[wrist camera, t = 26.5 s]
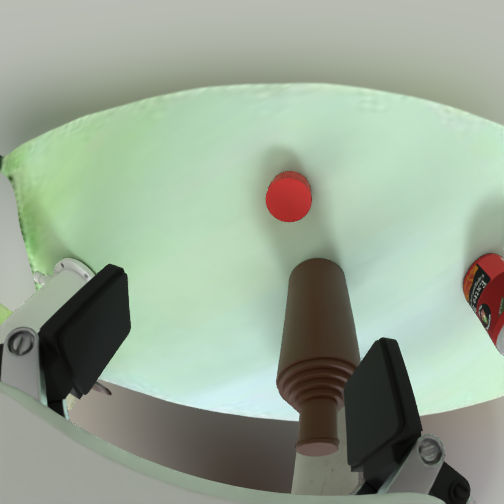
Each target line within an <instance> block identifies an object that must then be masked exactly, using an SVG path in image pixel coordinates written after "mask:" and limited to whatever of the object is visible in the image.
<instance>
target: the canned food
mask: <svg viewBox="0 0 504 504" xmlns="http://www.w3.org/2000/svg"><path fill="white" fill-rule="evenodd" d="M463 291H464V295H465V298H466V300H467V302H468V303H469V305H470V306H471V308H472V309H473V311H474V312H475V314H476V315H477V317H478V318H479V320H480V321H481V323H482V325H483V326H484V328H485V330H486V331H487V333H488V335H489V336H490V338H491V340H492V342H493V343H494V345H495V346H496V348H497V350H498V351H499V352H500V354H501V355H503V356H504V259H503V258H502V257H501V256H499V255H497V254H492V253H490V254H485V255H483V256H481V257H480V258H478V259H477V260H476V261H475V262H474V263H473V264H472V265H471V267H470V268H469V270H468V272H467V273H466V276H465V279H464V283H463Z"/></svg>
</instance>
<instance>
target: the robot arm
mask: <svg viewBox="0 0 504 504" xmlns="http://www.w3.org/2000/svg"><path fill="white" fill-rule="evenodd" d="M33 279H34V281H36V282H37V283H39V284H41V285H43V287H42V288H40V289H39V290H38V291H37V292H36V293H35V294H33V295H32V296H31V297H30V298H29V299H28V300H27V301H25V302H24V303H23V304H22V305H21V306H20V307H19V308H18V309H17V310H15V311H14V312H13V313H12V314H11V315H10V316H9V317H8V318H7V319H6V320H5V321H4V322H3V323H2V324H1V325H0V504H476V503H475V502H474V500H473V499H472V498H470V499H469V496H470V485H469V483H468V481H467V480H466V479H465V478H464V477H463V476H462V475H460V474H459V473H458V472H457V471H455V470H454V469H453V468H452V467H451V466H449V465H448V464H447V463H446V462H444V459H445V448H444V445H443V443H442V442H441V440H440V439H439V438H438V437H436V436H434V435H431V434H426V435H423V436H421V431H422V425H421V421H420V417H419V413H418V409H417V405H416V401H415V397H414V394H413V390H412V387H411V383H410V380H409V377H408V373H407V370H406V367H405V364H404V361H403V357H402V354H401V351H400V348H399V346H398V343H397V341H396V340H395V339H389V338H384V337H382V338H380V339H379V340H376V341H375V342H374V344H373V345H372V347H371V348H370V350H369V351H368V353H367V354H366V356H365V357H364V358H363V360H362V361H361V363H360V364H359V366H358V367H357V368H356V370H355V371H354V373H353V374H352V375H351V377H350V378H349V379H348V381H347V382H346V384H345V386H344V390H343V393H344V406H345V420H346V439H347V463H348V465H350V466H351V472H363V476H364V478H363V479H362V480H361V481H360V483H359V484H358V485H357V486H356V487H355V489H354V490H353V491H352V492H351V493H350V494H349V495H348V496H314V495H296V494H284V493H275V492H267V491H260V490H253V489H247V488H241V487H236V486H231V485H227V484H222V483H218V482H213V481H209V480H206V479H202V478H199V477H195V476H192V475H188V474H185V473H182V472H179V471H176V470H173V469H170V468H167V467H164V466H161V465H159V464H156V463H153V462H151V461H148V460H146V459H143V458H141V457H138V456H136V455H134V454H131V453H129V452H127V451H124V450H122V449H120V448H118V447H116V446H114V445H112V444H110V443H108V442H106V441H104V440H102V439H100V438H99V437H97V436H95V435H93V434H91V433H89V432H87V431H86V430H84V429H82V428H80V427H79V426H77V425H75V424H73V423H72V422H70V421H69V415H68V410H67V404H66V397H67V396H68V394H69V393H70V394H71V395H73V396H75V397H77V398H78V399H80V398H81V397H82V395H83V394H84V395H86V394H87V393H88V392H89V391H90V390H91V388H92V387H93V385H94V384H95V382H96V381H97V379H98V378H99V376H100V375H101V373H102V372H103V370H104V369H105V367H106V366H107V364H108V363H109V361H110V360H111V358H112V357H113V356H114V354H115V353H116V351H117V350H118V348H119V347H120V346H121V344H122V343H123V341H124V340H125V338H126V337H127V336H128V334H129V332H130V329H131V321H130V310H129V296H128V277H127V274H126V273H124V269H123V268H121V267H118V266H115V265H112V264H108V265H106V266H105V267H104V268H103V269H102V270H101V271H100V272H98V273H97V274H96V275H95V274H94V273H93V272H92V271H91V270H90V269H89V268H88V267H87V266H86V265H84V264H83V263H81V262H80V261H78V260H76V259H73V258H64V259H62V260H61V261H59V262H58V263H57V264H56V265H55V268H54V272H53V275H51V276H50V275H47V276H45V275H44V274H43V273H41V272H39V271H36V272H35V273H34V275H33Z"/></svg>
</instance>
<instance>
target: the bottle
mask: <svg viewBox="0 0 504 504" xmlns="http://www.w3.org/2000/svg"><path fill="white" fill-rule="evenodd" d="M360 363H361V360H360V354H359V348H358V342H357V336H356V330H355V324H354V319H353V314H352V309H351V304H350V299H349V294H348V289H347V285H346V280H345V276H344V273H343V271H342V269H341V268H340V267H339V266H338V265H337V264H336V263H334V262H332V261H330V260H327V259H323V258H313V259H309V260H306V261H304V262H302V263H300V264H299V265H298V266H297V267H296V268H295V269H294V270H293V271H292V273H291V275H290V279H289V287H288V296H287V304H286V313H285V321H284V329H283V336H282V344H281V351H280V358H279V365H278V372H277V379H276V385H277V388H278V390H279V393H280V395H281V397H282V398H283V399H284V400H285V401H286V402H287V403H288V404H290V405H291V406H292V407H293V408H294V409H296V410H297V412H299V413H300V416H299V427H298V437H297V443H296V444H295V448H296V450H297V452H298V453H299V454H301V455H305V456H311V457H319V456H326V455H330V454H333V453H335V452H336V451H338V450H339V448H338V445H339V444H340V440H339V429H338V411H340V410H341V409H342V408H343V407H344V393H343V390H344V386H345V384H346V382H347V381H348V379H349V378H350V377H351V375H352V374H353V373H354V371H355V370H356V368H357V367H358V366H359V364H360Z"/></svg>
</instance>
